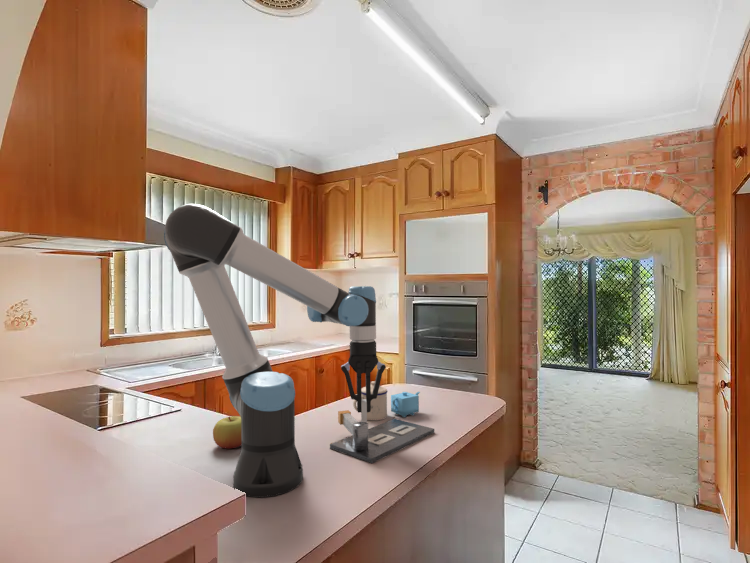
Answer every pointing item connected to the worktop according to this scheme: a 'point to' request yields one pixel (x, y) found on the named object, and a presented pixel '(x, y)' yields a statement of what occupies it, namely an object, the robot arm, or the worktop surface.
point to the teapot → (405, 403)
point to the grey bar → (355, 429)
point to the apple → (228, 432)
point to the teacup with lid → (376, 403)
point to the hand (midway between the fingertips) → (364, 423)
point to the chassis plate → (384, 440)
